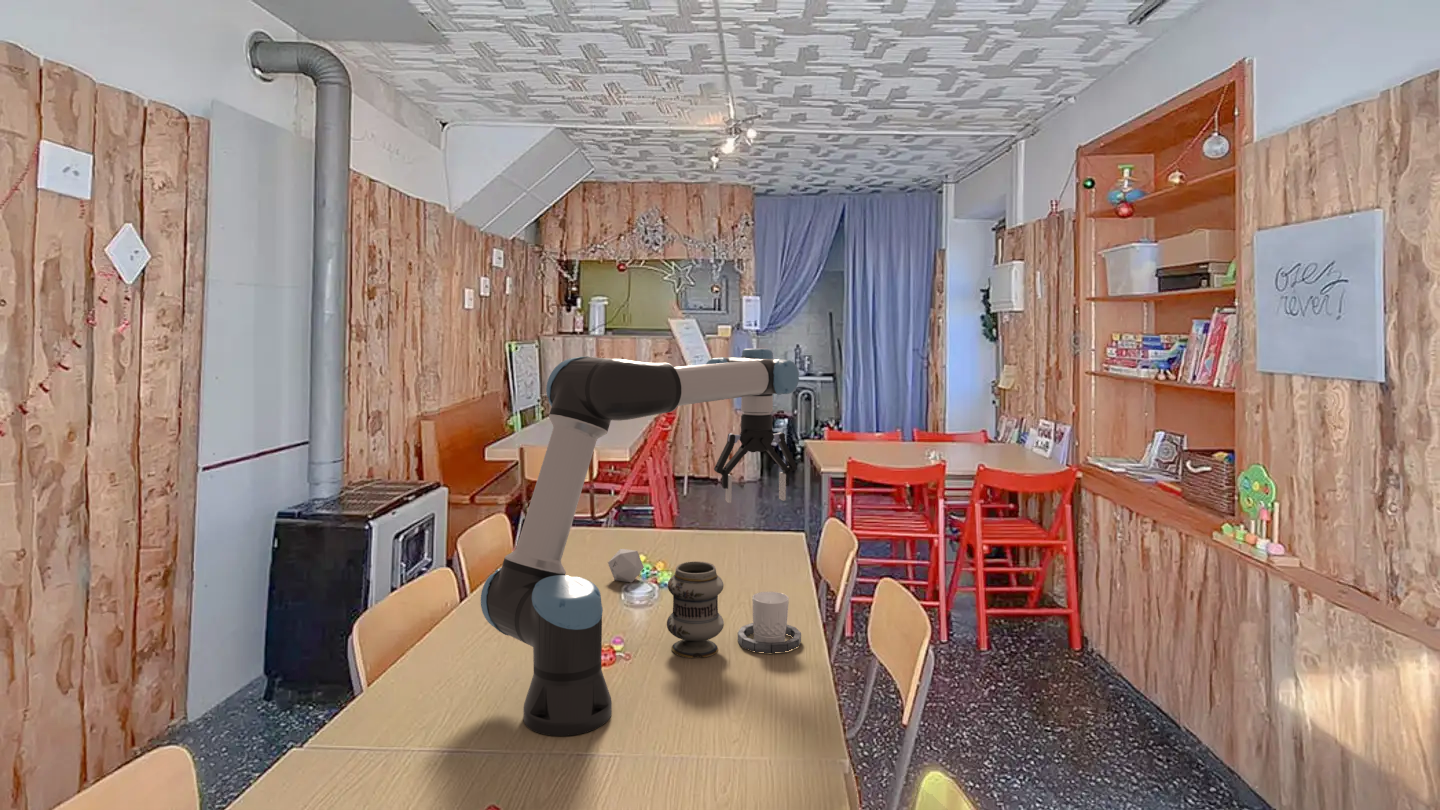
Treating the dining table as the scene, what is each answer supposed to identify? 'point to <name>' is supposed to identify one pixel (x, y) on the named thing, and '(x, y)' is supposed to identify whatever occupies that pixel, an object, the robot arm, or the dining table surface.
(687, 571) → the apothecary jar
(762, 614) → the white cup
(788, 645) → the collar ring
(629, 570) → the die
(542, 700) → the robot arm
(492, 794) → the dining table surface
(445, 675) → the dining table surface
